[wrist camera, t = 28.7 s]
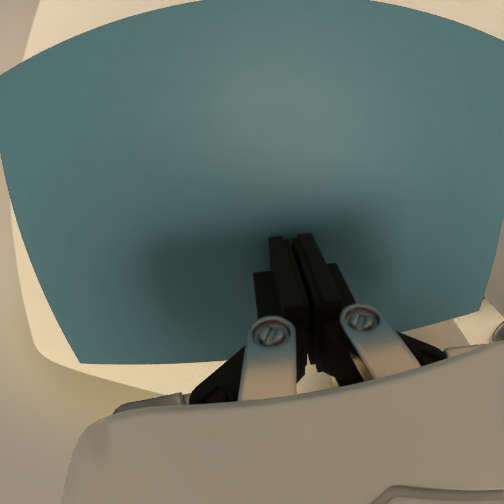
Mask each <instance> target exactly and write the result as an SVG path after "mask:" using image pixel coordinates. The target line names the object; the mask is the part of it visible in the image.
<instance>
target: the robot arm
mask: <svg viewBox="0 0 504 504" xmlns="http://www.w3.org/2000/svg"><path fill="white" fill-rule="evenodd" d="M268 244H269V257H270V270H271V271H263V272H254V273H253V280H254V289H255V298H256V307H257V316H258V319H257V320H256V321H254V322H253V323H252V324H251V325H250V326H249V329H248V331H247V337H246V345H245V346H244V347H243V348H241V349H240V350H239V351H238V352H237V353H236V354H235V355H233V356H232V357H231V358H230V359H229V360H228V361H226V362H225V363H224V364H223V365H222V366H221V367H219V368H218V369H217V370H216V371H215V372H214V373H212V374H211V375H210V376H209V377H208V378H206V379H205V380H204V381H203V382H202V383H200V384H199V385H198V386H197V387H196V388H195V389H194V390H193V391H192V393H190V394H185V395H182V393H181V392H180V393H175V394H171V395H166V396H161V397H157V398H152V399H147V400H141V401H136V402H130V403H126V404H123V405H121V406H119V407H118V408H117V409H116V410H115V411H114V413H113V415H111V416H108V417H105V418H103V419H100V420H98V421H96V422H94V423H93V424H92V425H90V426H89V427H88V428H87V429H86V430H85V431H84V432H83V433H82V435H81V437H80V438H79V440H78V442H77V444H76V447H75V449H74V452H73V455H72V457H71V461H70V465H69V468H68V472H67V476H66V481H65V486H64V491H63V496H62V503H61V504H504V340H502V341H498V342H494V343H491V344H480V345H472V346H471V345H470V344H469V342H468V341H467V339H466V338H465V336H464V335H463V333H462V332H461V330H460V329H459V327H458V326H457V324H458V321H459V317H457V318H453V319H450V320H446V321H443V322H439V323H436V324H432V325H428V326H425V327H421V328H417V329H413V330H409V331H405V332H401V333H400V332H398V331H395V329H394V328H393V327H392V325H391V324H390V323H389V322H388V320H387V319H386V318H385V316H384V315H383V314H382V312H381V311H380V310H379V309H377V308H376V307H374V306H372V305H369V304H366V303H356V301H355V299H354V297H353V295H352V293H351V291H350V289H349V287H348V285H347V283H346V281H345V279H344V277H343V275H342V273H341V271H340V269H339V267H338V265H337V264H336V263H329V264H326V262H325V260H324V258H323V256H322V253H321V251H320V249H319V247H318V245H317V243H316V241H315V239H314V237H313V235H312V233H304V234H297V238H292V248H291V245H290V242H289V240H288V239H283V236H277V237H268ZM307 353H308V357H309V361H310V364H311V365H314V364H316V368H317V372H325V373H327V374H329V375H331V382H332V384H333V386H334V388H332V389H326V390H321V391H315V392H309V393H303V394H297V391H296V384H297V383H298V382H299V380H300V379H301V378H302V377H303V376H304V375H305V366H306V365H307Z"/></svg>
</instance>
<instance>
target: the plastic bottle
mask: <svg viewBox="0 0 504 504" xmlns="http://www.w3.org/2000/svg"><path fill="white" fill-rule="evenodd" d="M484 297H485V298H486V299H487V300H488V301H489V302H490V303H491V304H492V305H493V306H494V308H495V309H496V310H497V311H498V312H499V313H500V314H501V315H502V316H503V317H504V217H503V221H502V227H501V232H500V237H499V242H498V246H497V251H496V255H495V259H494V263H493V267H492V270H491V274H490V278H489V281H488V285H487V288H486V291H485V294H484Z"/></svg>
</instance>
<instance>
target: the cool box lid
mask: <svg viewBox="0 0 504 504" xmlns="http://www.w3.org/2000/svg"><path fill="white" fill-rule="evenodd" d="M0 154H1V159H2V164H3V169H4V174H5V178H6V183H7V187H8V191H9V195H10V199H11V202H12V206H13V210H14V213H15V216H16V220H17V223H18V226H19V229H20V232H21V235H22V238H23V241H24V244H25V247H26V250H27V253H28V255H29V258H30V261H31V263H32V266H33V268H34V271H35V273H36V276H37V278H38V281H39V283H40V285H41V288H42V290H43V292H44V294H45V297H46V299H47V301H48V303H49V305H50V307H51V309H52V312H53V314H54V316H55V318H56V320H57V322H58V324H59V326H60V328H61V329H62V331H63V333H64V335H65V337H66V339H67V341H68V343H69V344H70V346H71V348H72V350H73V351H74V353H75V355H76V357H77V358H78V360H79V362H80V363H84V364H174V363H195V362H210V361H223V360H229V359H230V358H231V357H232V356H233V355H235V354H236V353H237V352H238V351H239V350H240V349H241V348H243V347H244V346H245V345H246V337H247V331H248V329H249V326H250V325H251V324H252V323H253V322H254V321H256V320H257V319H258V316H257V307H256V298H255V289H254V280H253V273H254V272H263V271H271V270H270V257H269V244H268V237H277V236H283V239H288V240H289V242H290V245H291V248H292V238H297V234H304V233H312V235H313V237H314V239H315V241H316V243H317V245H318V247H319V249H320V251H321V253H322V256H323V258H324V260H325V262H326V264H329V263H336V264H337V265H338V267H339V269H340V271H341V273H342V275H343V277H344V279H345V281H346V283H347V285H348V287H349V289H350V291H351V293H352V295H353V297H354V299H355V301H356V303H366V304H369V305H372V306H374V307H376V308H377V309H379V310H380V311H381V312H382V314H383V315H384V316H385V318H386V319H387V320H388V322H389V323H390V324H391V325H392V327H393V328H394V329H395V331H398V332H400V333H401V332H405V331H409V330H413V329H417V328H421V327H425V326H428V325H432V324H436V323H439V322H443V321H446V320H450V319H453V318H457V317H460V316H463V315H466V314H470V313H473V312H476V311H479V309H480V307H481V304H482V301H483V297H484V294H485V291H486V288H487V285H488V281H489V278H490V274H491V270H492V267H493V263H494V259H495V255H496V251H497V246H498V242H499V237H500V232H501V227H502V221H503V216H504V41H503V40H501V39H498V38H496V37H494V36H492V35H489V34H487V33H485V32H482V31H480V30H477V29H475V28H472V27H469V26H467V25H464V24H461V23H458V22H455V21H452V20H449V19H446V18H443V17H440V16H437V15H433V14H430V13H426V12H422V11H419V10H415V9H411V8H406V7H402V6H397V5H392V4H387V3H382V2H376V1H370V0H203V1H197V2H191V3H185V4H180V5H175V6H170V7H166V8H161V9H157V10H153V11H149V12H145V13H142V14H138V15H135V16H131V17H128V18H124V19H121V20H118V21H115V22H112V23H109V24H106V25H103V26H101V27H98V28H95V29H92V30H90V31H87V32H85V33H82V34H80V35H77V36H75V37H73V38H70V39H68V40H66V41H63V42H61V43H59V44H57V45H55V46H53V47H51V48H48V49H46V50H44V51H42V52H40V53H38V54H37V55H35V56H33V57H31V58H29V59H27V60H25V61H24V62H22V63H20V64H18V65H17V66H15V67H13V68H11V69H10V70H8V71H6V72H5V73H3V74H2V75H0Z"/></svg>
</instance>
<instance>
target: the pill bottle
mask: <svg viewBox="0 0 504 504" xmlns="http://www.w3.org/2000/svg"><path fill="white" fill-rule="evenodd" d="M493 340H494V342H498V341H502V340H504V323H502V324H501V325H500V326H499V327H498V329H497V330H496V332H495V334H494V336H493Z"/></svg>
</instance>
